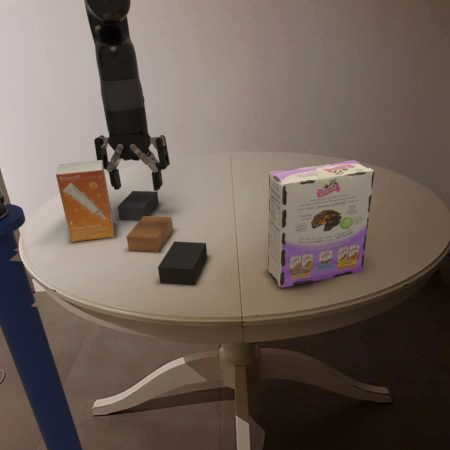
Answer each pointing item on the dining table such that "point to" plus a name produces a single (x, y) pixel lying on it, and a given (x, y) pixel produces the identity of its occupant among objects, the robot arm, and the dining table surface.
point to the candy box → (318, 221)
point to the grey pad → (138, 205)
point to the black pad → (183, 263)
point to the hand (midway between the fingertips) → (137, 189)
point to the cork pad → (150, 234)
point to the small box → (85, 200)
